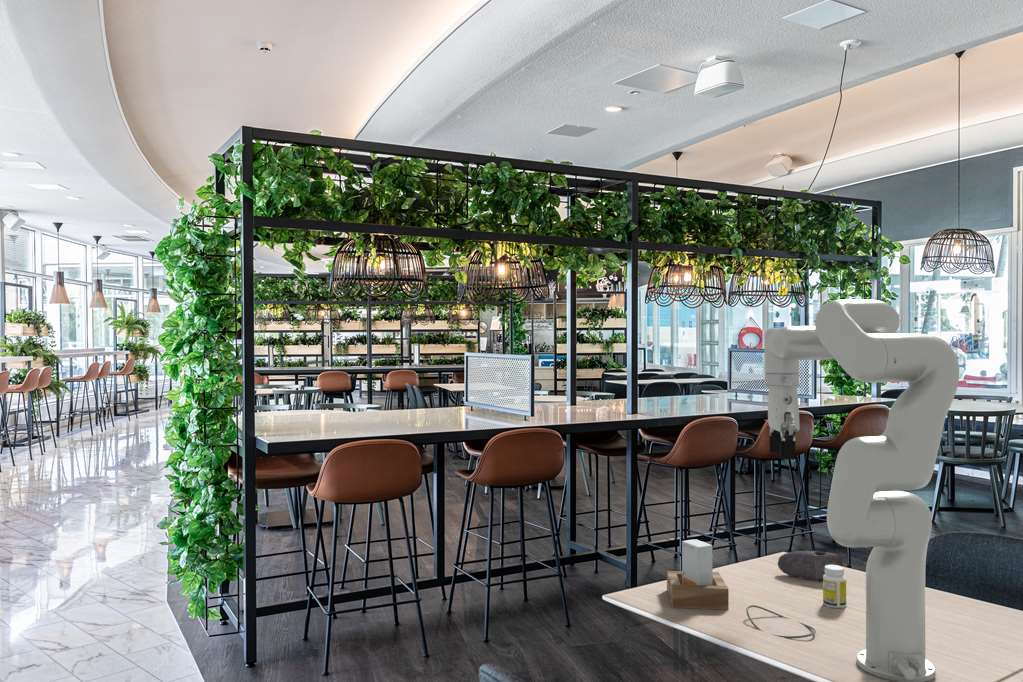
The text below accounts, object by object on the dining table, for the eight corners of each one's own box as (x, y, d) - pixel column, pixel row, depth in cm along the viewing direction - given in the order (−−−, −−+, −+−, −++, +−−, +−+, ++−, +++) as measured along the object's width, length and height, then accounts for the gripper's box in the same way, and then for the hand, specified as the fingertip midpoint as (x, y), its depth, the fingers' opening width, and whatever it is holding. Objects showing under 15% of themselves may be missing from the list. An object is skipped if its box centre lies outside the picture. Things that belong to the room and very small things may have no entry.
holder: (728, 609, 166) (728, 588, 166) (672, 607, 167) (672, 587, 167) (718, 591, 178) (718, 572, 178) (666, 590, 179) (666, 570, 179)
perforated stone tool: (775, 577, 189) (775, 549, 189) (779, 571, 194) (779, 544, 194) (841, 586, 182) (840, 557, 182) (843, 580, 186) (843, 552, 186)
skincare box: (681, 592, 174) (681, 540, 174) (696, 590, 176) (696, 538, 176) (698, 601, 169) (698, 547, 169) (713, 598, 170) (713, 544, 170)
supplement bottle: (842, 601, 171) (842, 564, 171) (849, 609, 166) (849, 570, 166) (820, 601, 171) (820, 563, 171) (826, 608, 167) (826, 570, 167)
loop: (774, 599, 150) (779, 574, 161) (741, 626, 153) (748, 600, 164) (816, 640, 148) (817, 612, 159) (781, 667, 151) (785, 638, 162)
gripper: (809, 383, 166) (810, 461, 166) (788, 379, 183) (788, 450, 183) (774, 383, 167) (774, 461, 167) (756, 379, 184) (756, 450, 184)
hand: (782, 455), depth 175 cm, fingers open, 9 cm apart
